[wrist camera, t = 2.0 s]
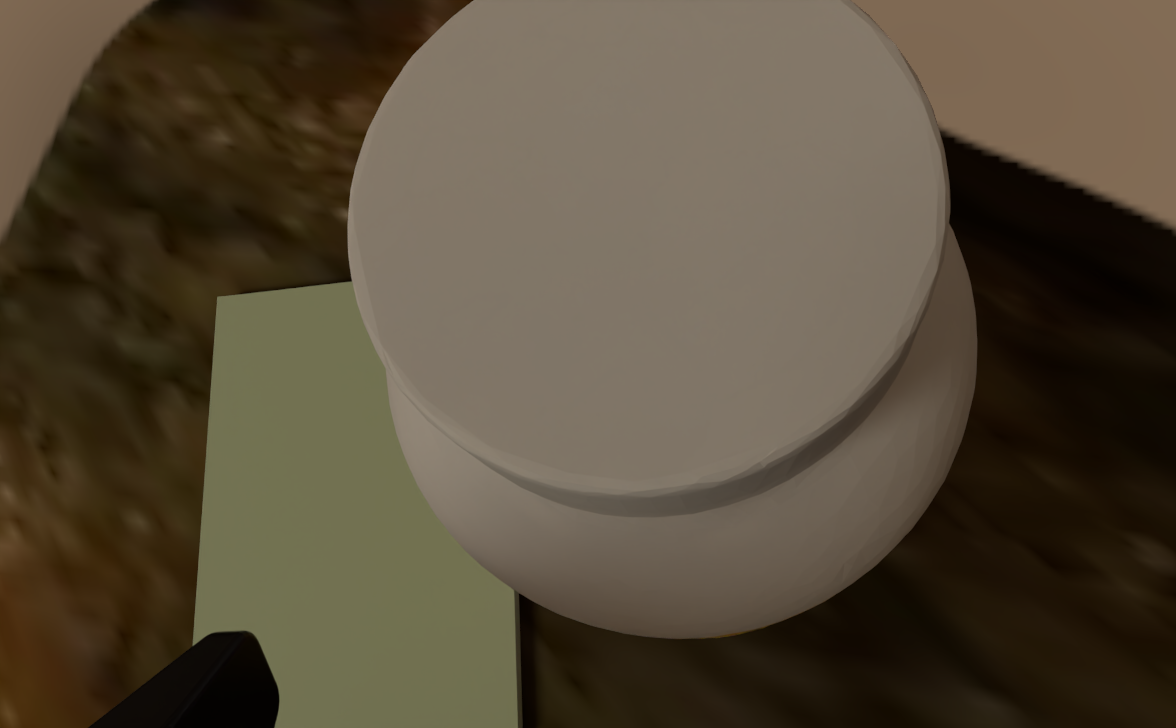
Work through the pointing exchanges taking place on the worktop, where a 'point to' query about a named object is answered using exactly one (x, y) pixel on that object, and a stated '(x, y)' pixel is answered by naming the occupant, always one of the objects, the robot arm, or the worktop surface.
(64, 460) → the worktop surface
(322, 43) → the worktop surface
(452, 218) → the supplement bottle
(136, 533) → the worktop surface
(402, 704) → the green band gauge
